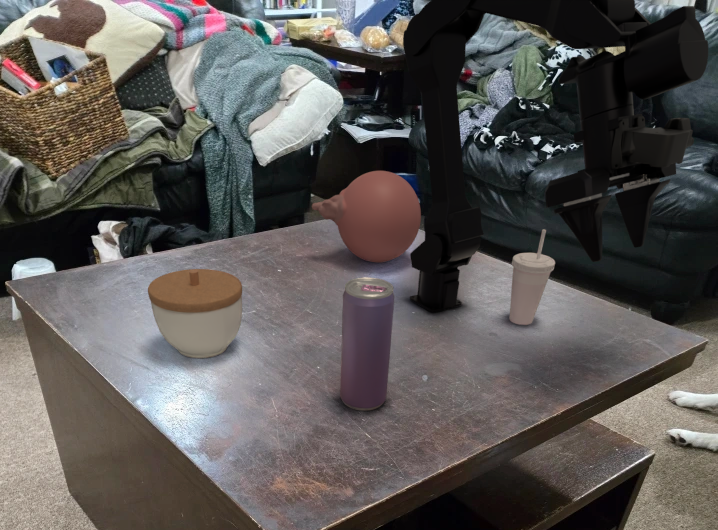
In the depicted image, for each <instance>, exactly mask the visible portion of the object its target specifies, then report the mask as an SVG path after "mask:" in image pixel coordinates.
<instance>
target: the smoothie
mask: <svg viewBox="0 0 718 530" xmlns="http://www.w3.org/2000/svg"><path fill="white" fill-rule="evenodd" d="M546 233H547V229H544V228H543V229H542V230H541V234H540V238H539V243H538V248H537V252H520V253H517V254H515V255H513V257H512V261H511V266H512V276H511V277H512V278H511V292H510V306H509V316H508V317H509V319H508V320H509V321H510V322H511V323H512V324H516V325H519V326H527V325H531V324H533V322H534V319H535V317H536V313H537V311H538V308H539V305H540V302H541V301H542V297H543V295H544V291H545V290H546V287H547V284H548V280H549V279H550V275H551V273H552V272H553V271H554V269H555V265H556V260H555V259H554V258H553V257H550V256H549V255H545V254H543V253H542V251H543V246H544V241H545V238H546Z"/></svg>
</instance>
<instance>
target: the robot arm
mask: <svg viewBox="0 0 718 530" xmlns="http://www.w3.org/2000/svg"><path fill="white" fill-rule="evenodd" d="M486 14H487V15H491V16H495V17H500V18H504V19H508V20H513V21H516V22H520V23H525V24H529V25H533V26H538V27H539V28H541V29H543V30H545V32H546V33H547V34H548V35H549V36H550V37H551V38H552V39H554V40H555V41H558V42H560V43H561V44H563V45H564V46H566V47H568V48H570V49H574V50H589V49H590V50H591V49H605V48H620V47H621V48H623V47H624V51H622V52H620V53H617V54H614V53H612V52H611V51H608V50H603V51H601V52H599V53H596V54H595V55H592V56H589V57H588V58H585V57H584V56H583V55H580V56H572V57H570V59H569V62H568V64H567V66H566V68H565V69H564V70H563V71H562V73H561V74H560V76H559V78H558V84H559V85H567V84H568V85H569V84H576V93H577V101H578V102H577V103H578V111H579V112H578V113H579V121H580V131H577V132H574V133H573V141H574V143H575V144H576V143H581V142H582V143H581V144H582V153H583V161H584V169H580V170H577V172H574V173H570V174H567V175H564V176H561V177H557V178H553V179H551V180H549V182H548V184H547V185H546V187H545V189H544V199H545V207H546V208H551V207H554V206H558V205H562V206H563V207H557V208H555V209H553V213H554V214H558V215H559V216H560V218H561V219H562V221H563V222H564V223H565V224H566V225H567V227H568V228H569V229H570V231H571V232H572V233H573V235H574V236H575V238H576V240H577V241H578V242H579V244H580V246H581V247H582V249H583V250H584V252H585V253H586V255H587V256H588V258H589V259H590V261H591V262H592V263H598V262H600V261H602V259H603V212H604V211H605V209H606V207H607V205H608V203H609V202H610V200H611V198H612V195H613V194H609V195H605V196H603V194H604V193H607V192H608V190H609V188H613V187H616V188H617V190H622V191H620V192H615V193H614V197H615V199H616V202H617V205H618V208H619V211H620V213H621V216H622V219H623V223H624V225H625V228H626V231H627V233H628V237H629V239H630V242H631V244H632V246H633V247H634V248H635V249H636V248H641V247H643V246H644V245H645V240H646V236H647V232H648V227H649V223H650V219H651V215H652V211H653V207H654V203H655V200H656V198H657V197H658V195H659V194H660V193H661V191H662V190H663V189H664V188H665V187H666V186H667V185H669V183H670V182H671V179H665V180H662V181H660V179H664V178H667V177H671V176H674V175H677V165H681V164H683V162H684V157H685V153H686V150H687V149H688V148H690V147H692V146H693V145H694V142H695V138H694V137H693V133H694V130H693V129H692V127H691V126H692V125H691V120H690V118H688V117H674V118H670V119H668V121H667V122H666V123H665V124H664V126H663V127H646V119H645V117H644V116H643V113H637V114H635V110H634V97H633V94H635V96H636V97H637V98H639V99H640V100H647V99H650V98H653V97H656V96H658V95H661V94H664V93H667V92H670V91H672V90H675V89H677V88H681V87H683V86H685V85H688V84H691V83H694V82H696V81H697V82H698V81H699V80H700V79H701V78H702V77H703V75H704V73H705V72H706V69H707V65H708V60H709V41H708V40H707V39H706V35H705V32H704V29H703V27H702V25H701V23H700V21H699V20H698V19H697V17H696V16H697V15H696V14H697V13H696V7H695V6H694V5H683V6H681V7H679V8H677V9H674V10H673V11H671V12H670V13H668V15H666V16H665V17H662V18H660V19H658V20H656V21H654V22H650V21H649V19H647V18H646V17H645V16H644V15H643V13H642V12H640V11H639V10H638V9H637V7H636V1H635V0H430V1H428V2H427V3H426V4H425V5H424V6H423V7H422V9H420V10H419V12H418V13H416V14H415V15H413V16H412V17H411V18H410V20H409V21H408V24H407V26H406V28H405V30H404V31H403V36H402V46H403V47H402V48H403V52H404V56H405V60H406V66H407V70H408V74H409V75H410V77H411V79H412V81H413V82H414V83H415V85H416V87H417V88H418V90H419V91H420V95H421V101H422V110H423V121H424V130H425V140H426V141H425V142H426V151H427V161H428V169H429V170H428V171H429V181H430V189H431V190H430V192H431V206H430V208H429V212H428V214H427V217H426V220H425V222H424V240H423V241H422V242H421V243H420V244H419V245H418V246H417V247H416V248H415V249H413V250H412V251H411V252H410V254H409V257H410V264H411V268H413V269H415V270H417V271H419V275H418V285H417V291H416V292H417V293H416V294H414V295H410V296H409V301H411V302H413V303H414V304H416V305H417V306H420V307H421V308H423V309H425V310H426V311H428V312H430V313H439V312H441V311H447V310H449V309H454V308H458V307H461V306H463V302H462V301H461V300H459V299H458V295H459V294H458V293H459V287H460V280H459V279H460V273H461V272H460V271H461V270H460V269H459V267H462V266H468V265H469V264H470V261H471V259H472V258H473V256H474V255H475V254H476V252H477V251H478V249H479V248H480V247H481V241H482V236H484V235H485V233H484V231H483V227H482V210H481V207H480V206H477V207H472V205H471V203H470V201H469V200H468V198H467V196H466V187H465V186H466V185H465V175H464V161H463V149H462V137H461V124H460V111H459V98H458V83H459V81H460V77H461V75H462V72H463V69H464V67H465V64H466V52H467V51H466V49H467V43H468V42H470V40H471V39H472V38H473V37H474V36H475V35H476V34H477V33H478V31H479V29H480V27H481V24H482V23H483V21H484V17H485V15H486Z"/></svg>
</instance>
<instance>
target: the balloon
mask: <svg viewBox="0 0 718 530" xmlns="http://www.w3.org/2000/svg"><path fill="white" fill-rule="evenodd" d="M311 209H312V210H314V211H318V212H319V215H320V216H322V218H323V219H324V220H326V221H327V220H330V221H332V222H333V223H335V225H336V226H337V228H338V233H339V236H340V238H341V240H342V242H343V243H344V245H345V247H346V248H347V249H348V250H349V252H351V253H352V254H353V255H355V256H356V257H358V258H359V259H361V260H363V261H366V262H371V263H385V262H390V261H392V260H395V259H397V258H399V257H400V256H402V255H403V254H404V253H405V252H407V251H408V250H409V249H410V247H411V246H412V244H413V243H414V242H415V240H416V239H417V236H418V233H419V231H420V227H421V221H422V210H421V203H420V200H419V197H418V195H417V194H416V191H415V190H414V188H413V187H412V185H411V184H410V183H409V182H408V181H407V180H406V179H404V177H402V176H400V175H398V174H396V173H394V172H391V171H388V170H387V171H386V170H373V171H369V172H366V173H363V174H361V175H360V176H358V177H356V178H355V179H354V180H352V181H351V182H350V183H349V184H348V186H347V187H346V188H343V189H342V190H341V191H340V192H339V194H335V195H332V197H330V198H327V199H323V201H318V202H313V203H312V204H311Z"/></svg>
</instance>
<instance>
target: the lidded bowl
mask: <svg viewBox="0 0 718 530" xmlns="http://www.w3.org/2000/svg"><path fill="white" fill-rule="evenodd" d="M147 295H148V298H149V301H150V305H151V310H152V315H153V318H154V321H155V323H156V326H157V329H158V331H159V332H160V334H161V336H162V337H163V339H164V340H165V341H166V342H167V343H168V344H169V345H171V346H172V347H173V348H174V349H176V350H177V351H178V353H179V354H181V355H182V356H185V357H187V358H192V359H208V358H213V357H217V356H219V355H221V354H223V353H224V352H226V350H227V349H228V347H229V345H230V344H231V343H232V342H233V341H234V340H235V338H236V337H237V335H238V333H239V331H240V328H241V325H242V324H241V322H242V319H243V283H242V282H241V280H240V278H238V277H236V276H235V275H234V274H231V273H229V272H225V271H222V270H217V269H211V268H190V269H189V268H188V269H181V270H175V271H172V272H167V273H165V274H162V275H160V276H157V277H156V278H154V279H153V280H152V281H151V282H150V283H149V284H148V286H147Z"/></svg>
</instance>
